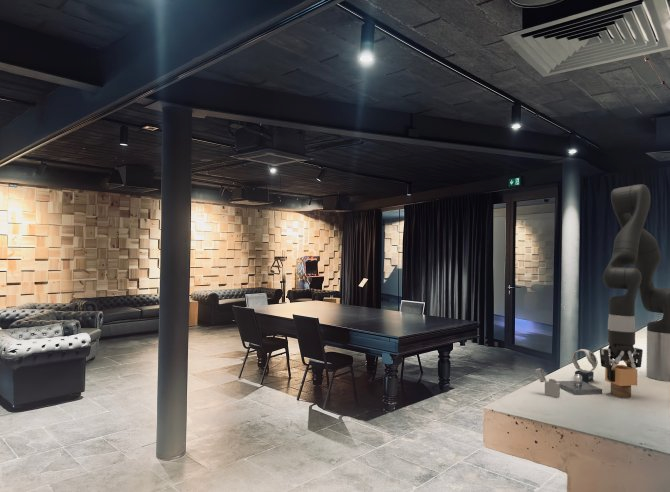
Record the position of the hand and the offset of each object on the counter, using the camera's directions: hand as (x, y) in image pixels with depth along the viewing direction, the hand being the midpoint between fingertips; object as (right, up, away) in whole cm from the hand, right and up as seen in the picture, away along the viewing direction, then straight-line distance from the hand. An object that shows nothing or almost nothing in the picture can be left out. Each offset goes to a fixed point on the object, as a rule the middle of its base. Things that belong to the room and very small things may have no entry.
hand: (620, 380), depth 147 cm
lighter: (-24, -4, -1) cm, 25 cm away
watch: (-3, -5, +17) cm, 18 cm away
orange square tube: (0, -1, 0) cm, 1 cm away
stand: (0, -5, 0) cm, 5 cm away
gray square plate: (-11, -5, +5) cm, 13 cm away
